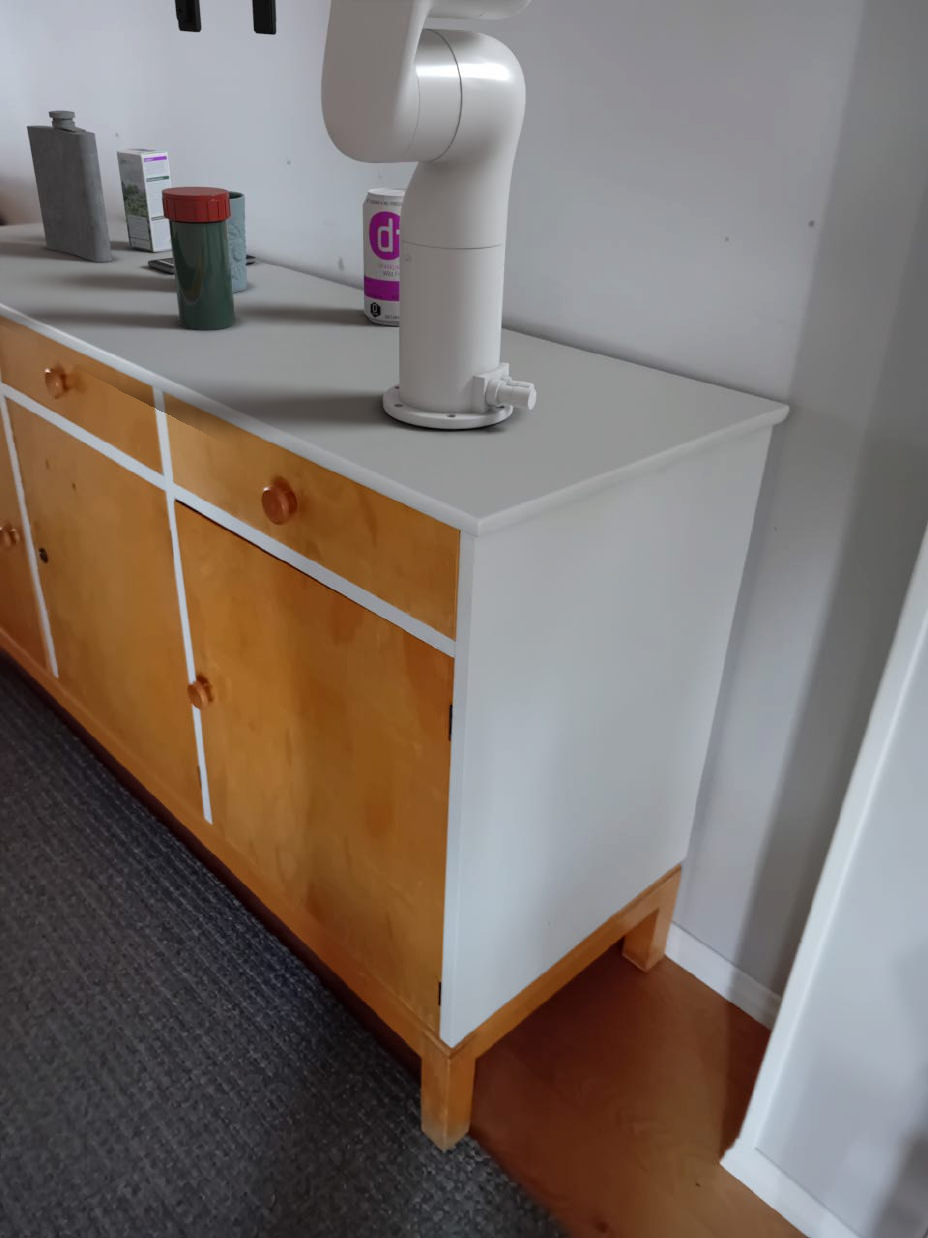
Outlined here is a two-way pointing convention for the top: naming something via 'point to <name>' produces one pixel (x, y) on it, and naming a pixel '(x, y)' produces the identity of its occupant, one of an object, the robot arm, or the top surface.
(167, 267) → the smartphone
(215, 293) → the jar
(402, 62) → the robot arm
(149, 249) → the syrup box
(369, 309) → the supplement can
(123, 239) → the top surface
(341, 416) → the top surface
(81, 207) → the hip flask
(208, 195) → the lid
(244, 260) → the embossed blue cup
